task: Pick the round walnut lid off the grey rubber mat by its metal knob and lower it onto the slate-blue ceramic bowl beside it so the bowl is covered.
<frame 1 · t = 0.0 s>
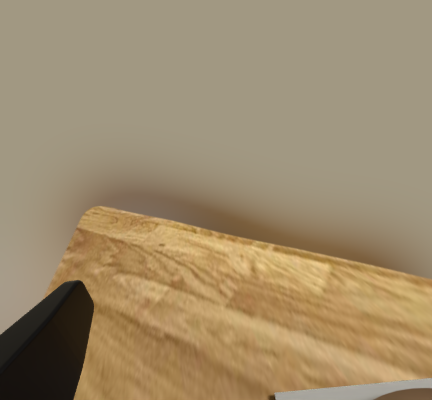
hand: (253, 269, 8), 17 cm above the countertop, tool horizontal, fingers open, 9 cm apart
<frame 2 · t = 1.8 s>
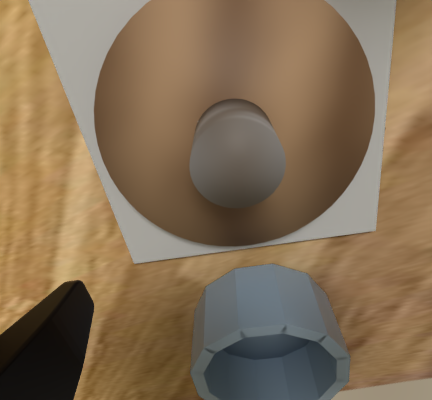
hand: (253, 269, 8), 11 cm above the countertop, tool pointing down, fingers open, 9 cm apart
mat: (232, 129, 18), on the countertop
lid: (232, 132, 17), resting on mat
bowl: (261, 314, 25), on the countertop
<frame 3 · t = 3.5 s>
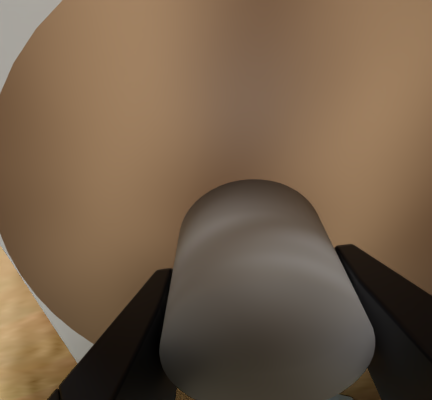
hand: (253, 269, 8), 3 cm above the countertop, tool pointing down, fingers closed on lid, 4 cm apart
mat: (245, 214, 10), on the countertop
lid: (247, 222, 10), resting on mat, touching gripper
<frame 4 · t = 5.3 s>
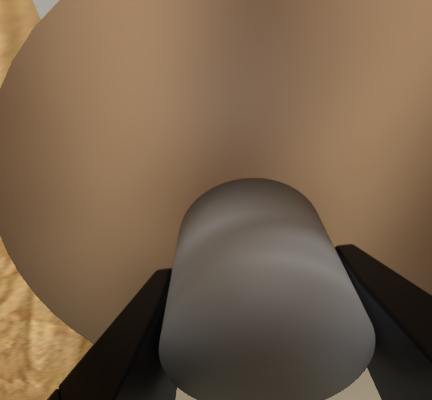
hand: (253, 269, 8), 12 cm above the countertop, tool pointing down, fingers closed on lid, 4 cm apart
lid: (247, 221, 10), point 10 cm above the countertop, touching gripper
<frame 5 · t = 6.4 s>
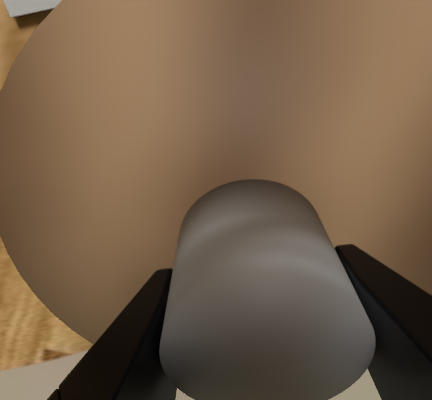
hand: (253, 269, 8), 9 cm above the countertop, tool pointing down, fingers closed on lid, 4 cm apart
lid: (247, 222, 10), point 7 cm above the countertop, touching gripper
when the fingers open (8 cm above the countertop, at t = 7.2 s): lid drops 1 cm, resting on bowl.
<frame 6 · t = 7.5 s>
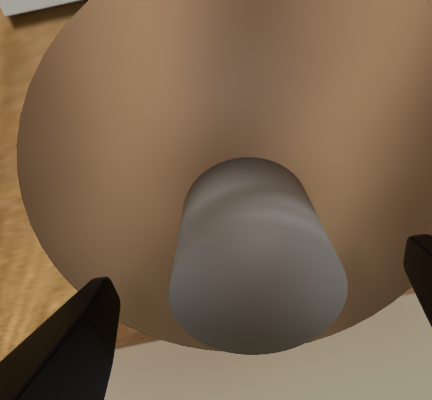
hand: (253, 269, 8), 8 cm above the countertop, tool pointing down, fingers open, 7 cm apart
lid: (243, 199, 11), point 5 cm above the countertop, touching bowl
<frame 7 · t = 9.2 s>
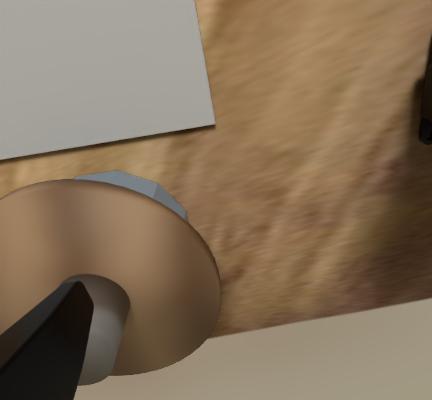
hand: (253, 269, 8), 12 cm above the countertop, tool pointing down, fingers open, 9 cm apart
lid: (99, 287, 19), point 5 cm above the countertop, touching bowl
bowl: (120, 235, 23), on the countertop
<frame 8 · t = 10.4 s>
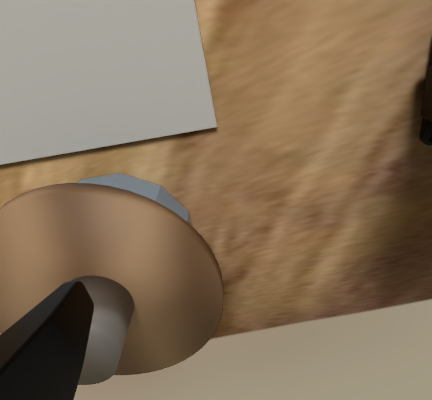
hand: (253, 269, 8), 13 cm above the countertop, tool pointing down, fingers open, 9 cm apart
lid: (103, 288, 19), point 5 cm above the countertop, touching bowl
bowl: (125, 237, 23), on the countertop
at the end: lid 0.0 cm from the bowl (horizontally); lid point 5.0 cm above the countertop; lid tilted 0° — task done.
